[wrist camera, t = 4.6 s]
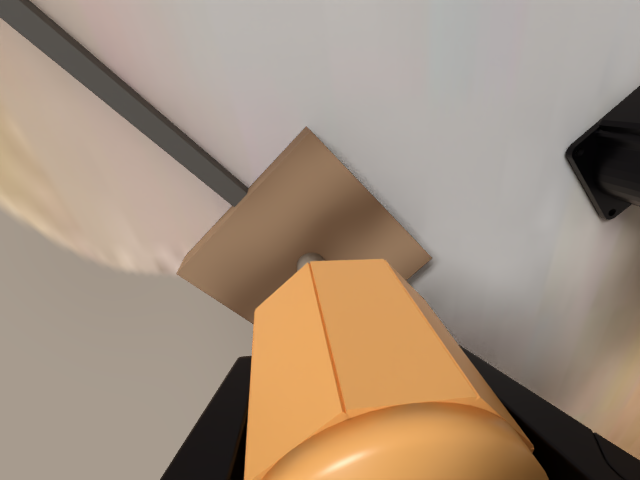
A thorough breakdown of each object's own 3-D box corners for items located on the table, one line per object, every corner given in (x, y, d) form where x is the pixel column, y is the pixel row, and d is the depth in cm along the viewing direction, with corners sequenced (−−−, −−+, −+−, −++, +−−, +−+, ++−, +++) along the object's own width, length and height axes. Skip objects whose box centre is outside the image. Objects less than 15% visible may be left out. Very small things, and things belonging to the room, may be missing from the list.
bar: (248, 188, 18) (247, 193, 17) (236, 201, 18) (234, 207, 17) (-109, -118, 11) (-142, -135, 10) (-121, -93, 12) (-154, -108, 11)
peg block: (417, 243, 21) (470, 297, 15) (307, 340, 23) (320, 418, 17) (306, 126, 17) (324, 143, 11) (185, 256, 19) (151, 323, 13)
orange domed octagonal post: (450, 326, 10) (593, 512, 6) (333, 414, 11) (378, 633, 7) (350, 224, 8) (449, 385, 4) (218, 342, 9) (171, 583, 5)
